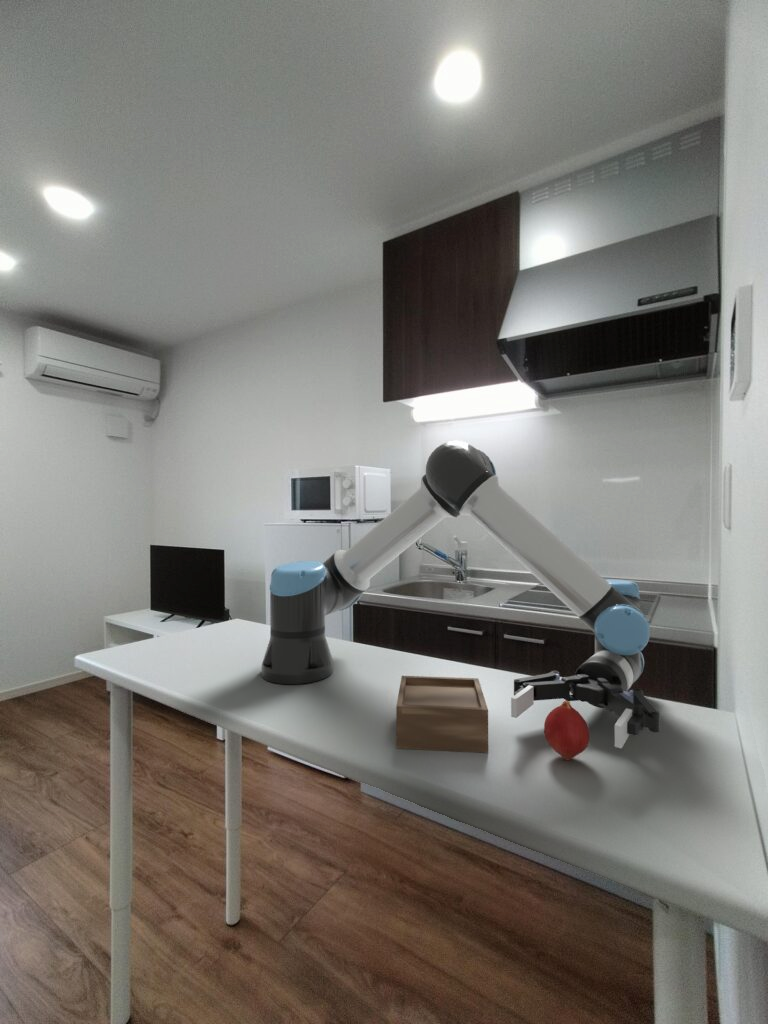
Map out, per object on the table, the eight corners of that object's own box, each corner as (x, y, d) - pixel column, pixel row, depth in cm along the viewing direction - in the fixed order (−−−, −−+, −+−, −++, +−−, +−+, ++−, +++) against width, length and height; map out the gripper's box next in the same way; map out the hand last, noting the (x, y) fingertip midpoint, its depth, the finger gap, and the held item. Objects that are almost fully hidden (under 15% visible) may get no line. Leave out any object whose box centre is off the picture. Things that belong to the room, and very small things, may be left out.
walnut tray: (401, 710, 78) (401, 675, 78) (478, 713, 77) (478, 678, 77) (396, 748, 65) (396, 706, 65) (488, 752, 64) (488, 709, 64)
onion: (538, 747, 65) (538, 691, 66) (579, 748, 65) (578, 692, 65) (552, 769, 60) (552, 708, 60) (596, 770, 59) (596, 709, 60)
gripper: (692, 721, 69) (671, 783, 53) (531, 684, 85) (478, 723, 69) (691, 672, 69) (671, 718, 53) (531, 644, 85) (477, 673, 69)
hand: (561, 721), depth 61 cm, fingers open, 13 cm apart
